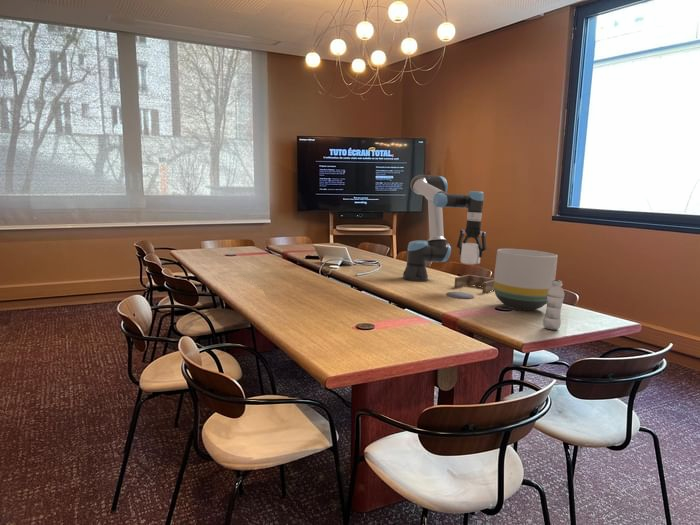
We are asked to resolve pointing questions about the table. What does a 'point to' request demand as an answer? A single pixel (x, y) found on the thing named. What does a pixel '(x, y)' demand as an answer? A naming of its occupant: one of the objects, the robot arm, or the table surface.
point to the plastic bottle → (554, 306)
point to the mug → (469, 253)
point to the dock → (475, 282)
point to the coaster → (460, 295)
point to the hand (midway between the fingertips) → (470, 262)
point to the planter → (524, 277)
